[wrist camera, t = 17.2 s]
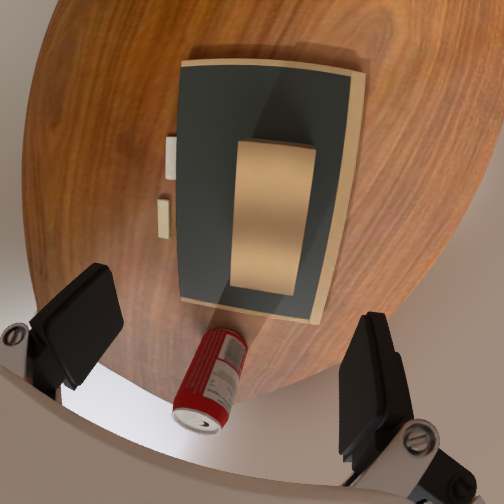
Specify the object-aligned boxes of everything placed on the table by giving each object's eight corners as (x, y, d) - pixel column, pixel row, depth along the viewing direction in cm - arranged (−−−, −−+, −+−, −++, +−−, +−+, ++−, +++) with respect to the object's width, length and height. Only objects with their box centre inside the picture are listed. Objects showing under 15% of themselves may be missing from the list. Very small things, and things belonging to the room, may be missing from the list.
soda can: (199, 346, 34) (164, 423, 23) (211, 319, 31) (171, 402, 20) (239, 363, 34) (214, 443, 23) (255, 338, 31) (231, 426, 21)
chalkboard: (186, 62, 20) (181, 60, 19) (363, 75, 18) (366, 73, 17) (183, 295, 30) (180, 300, 29) (319, 319, 28) (319, 325, 28)
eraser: (250, 137, 21) (237, 140, 17) (314, 144, 20) (316, 149, 16) (241, 259, 26) (229, 285, 22) (295, 268, 25) (293, 296, 21)
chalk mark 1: (168, 200, 25) (170, 199, 26) (157, 199, 25) (159, 198, 26) (168, 239, 27) (170, 237, 27) (158, 237, 27) (160, 235, 28)
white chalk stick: (168, 136, 23) (166, 136, 23) (179, 136, 23) (177, 136, 23) (167, 178, 25) (165, 179, 24) (178, 179, 25) (176, 179, 24)
